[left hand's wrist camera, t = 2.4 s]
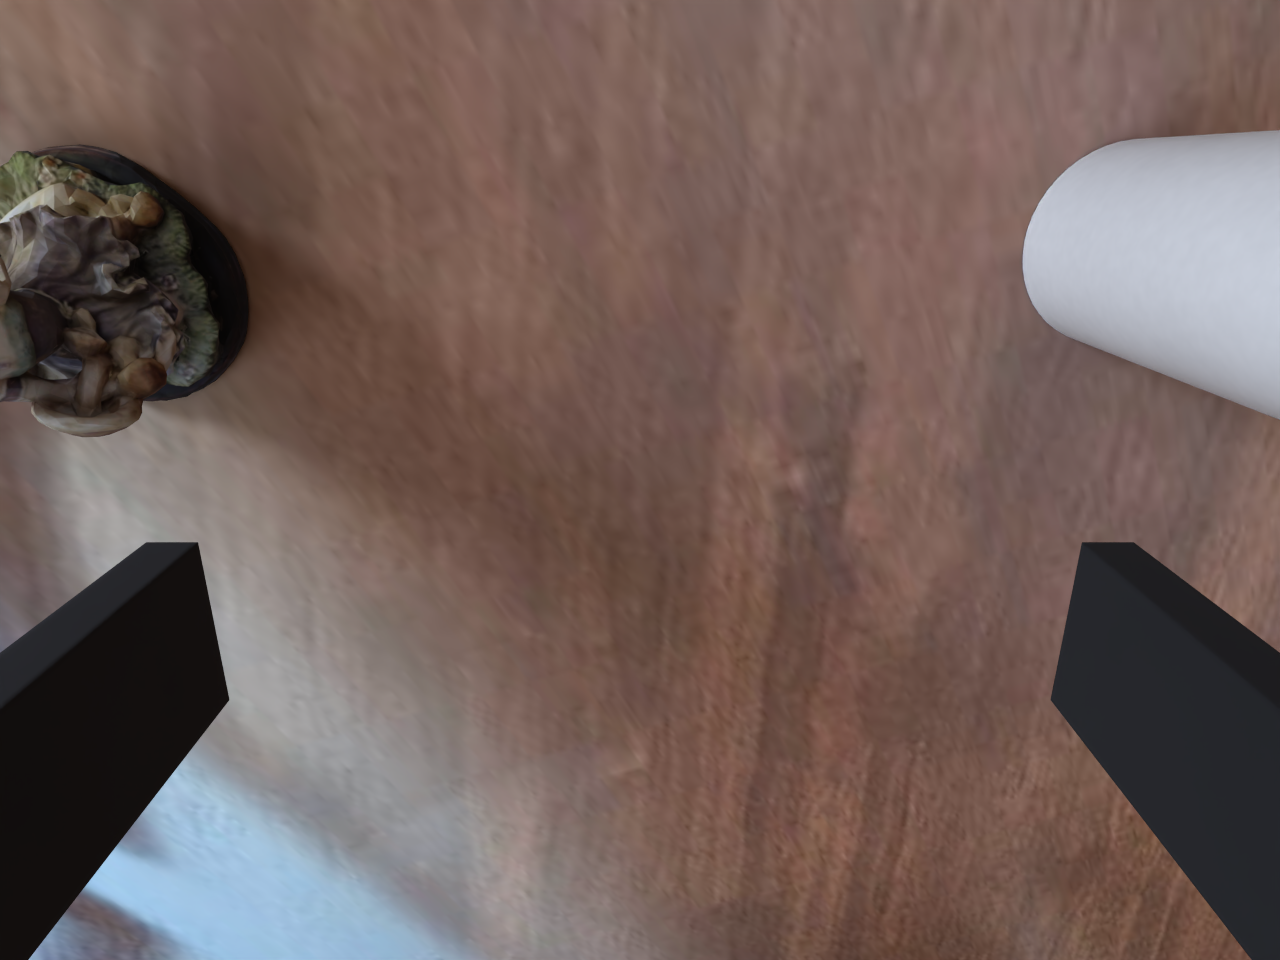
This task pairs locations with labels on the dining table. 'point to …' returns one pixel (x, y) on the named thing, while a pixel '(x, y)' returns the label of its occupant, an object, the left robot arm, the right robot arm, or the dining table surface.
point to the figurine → (108, 290)
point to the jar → (1169, 259)
